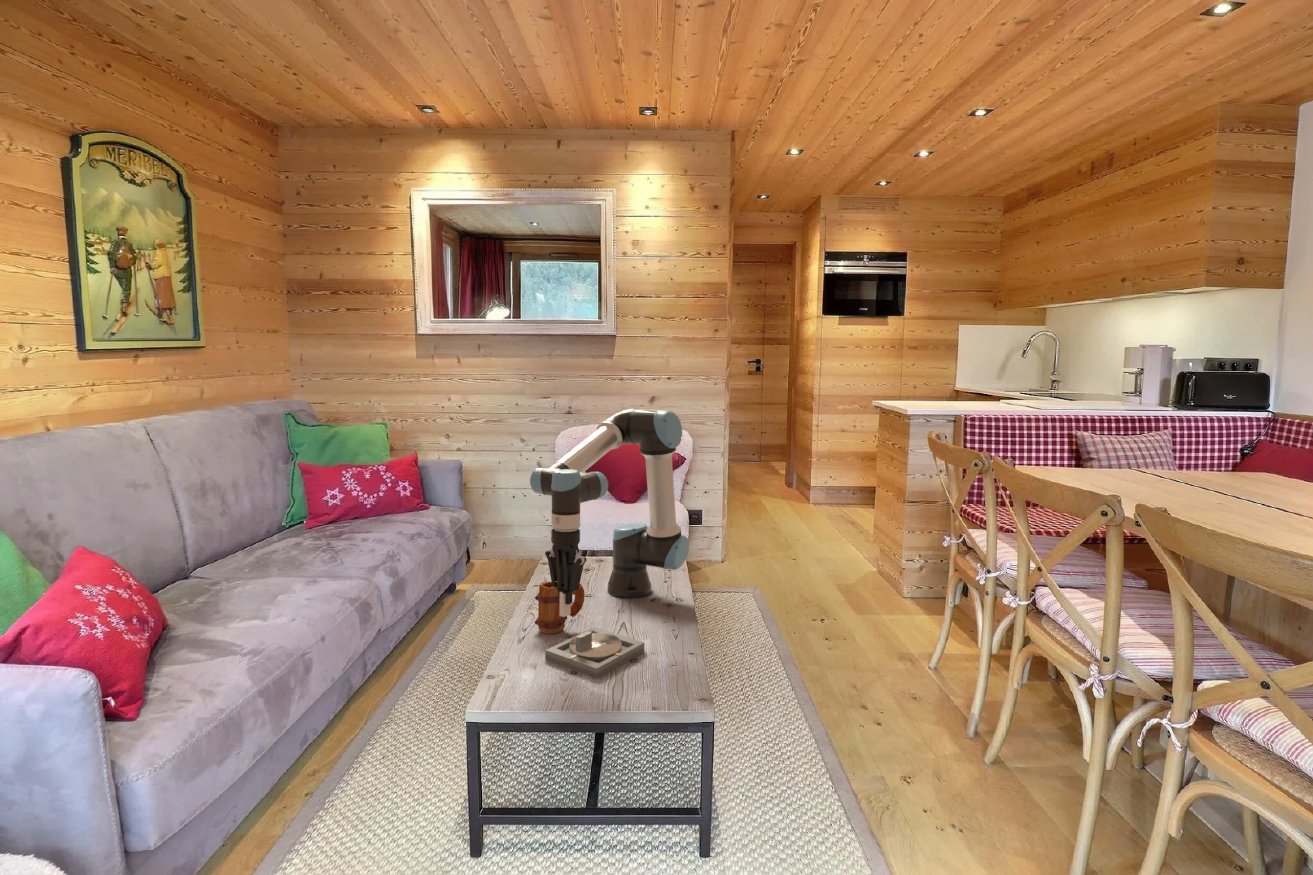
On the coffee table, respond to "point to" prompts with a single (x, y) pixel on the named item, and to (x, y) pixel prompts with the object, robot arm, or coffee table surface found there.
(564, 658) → the board
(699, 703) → the coffee table surface
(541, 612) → the mug
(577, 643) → the dial
